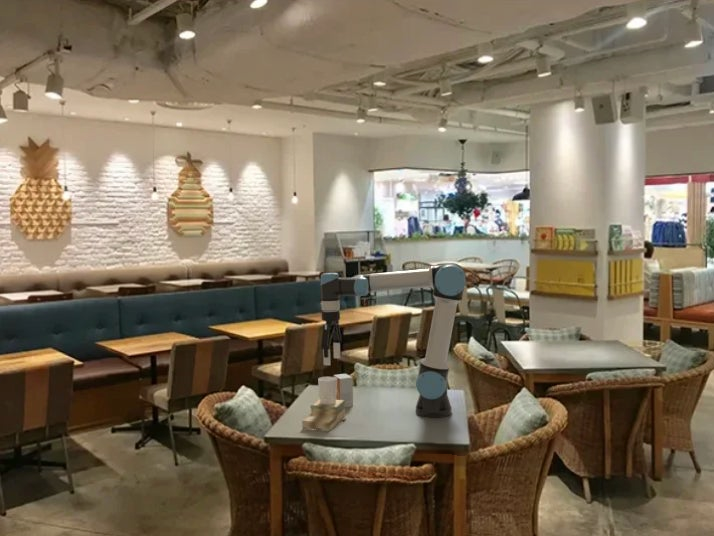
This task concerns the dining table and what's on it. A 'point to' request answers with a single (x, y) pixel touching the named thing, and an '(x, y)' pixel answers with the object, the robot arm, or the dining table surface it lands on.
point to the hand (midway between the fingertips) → (332, 361)
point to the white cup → (327, 390)
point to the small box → (344, 389)
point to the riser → (324, 416)
